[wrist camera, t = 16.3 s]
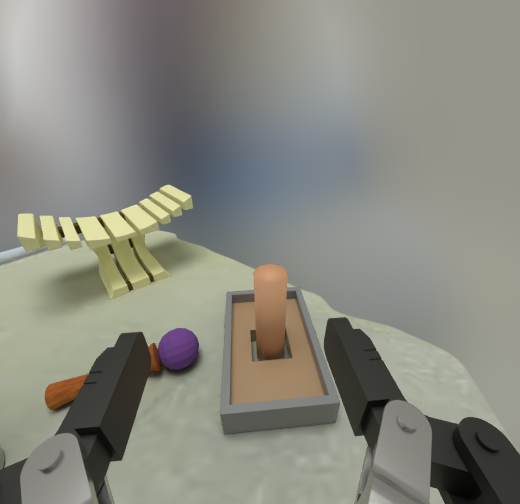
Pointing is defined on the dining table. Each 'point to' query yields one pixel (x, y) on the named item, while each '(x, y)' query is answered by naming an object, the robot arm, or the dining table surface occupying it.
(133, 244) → the slatted curved stool
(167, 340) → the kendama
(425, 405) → the dining table surface
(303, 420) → the peg box
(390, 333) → the dining table surface
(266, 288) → the peg
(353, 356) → the robot arm
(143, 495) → the dining table surface
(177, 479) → the dining table surface
